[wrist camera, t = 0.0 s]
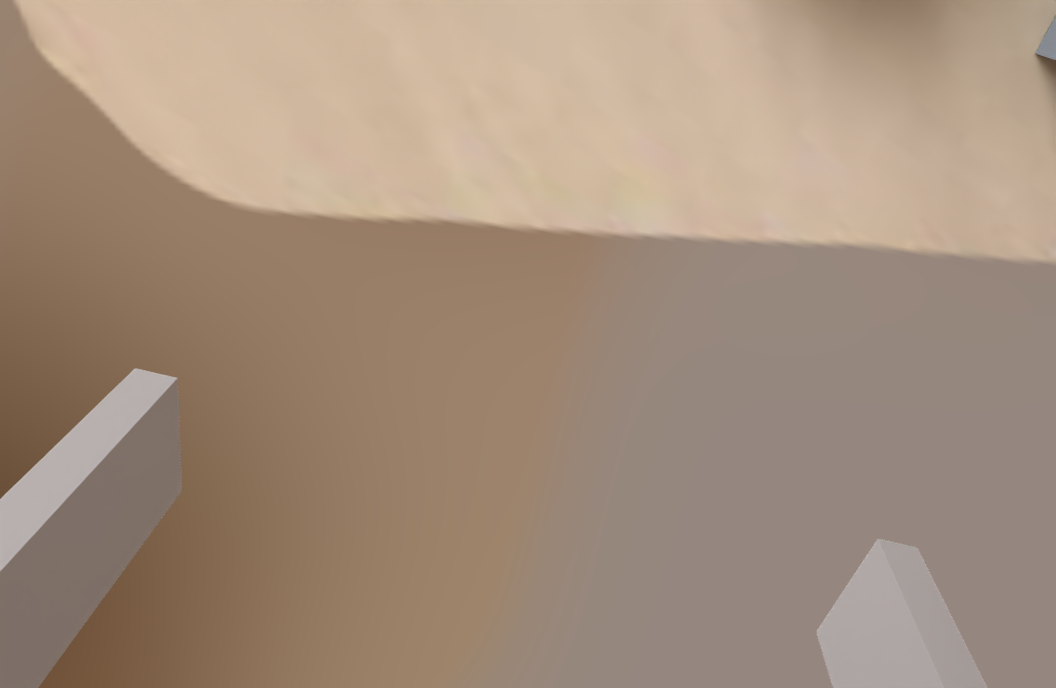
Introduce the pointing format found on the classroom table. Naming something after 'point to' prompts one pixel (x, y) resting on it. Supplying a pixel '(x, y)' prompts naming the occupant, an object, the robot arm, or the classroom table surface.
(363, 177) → the classroom table surface
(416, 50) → the classroom table surface
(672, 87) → the classroom table surface
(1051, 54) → the pale blue square tray
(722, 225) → the classroom table surface
